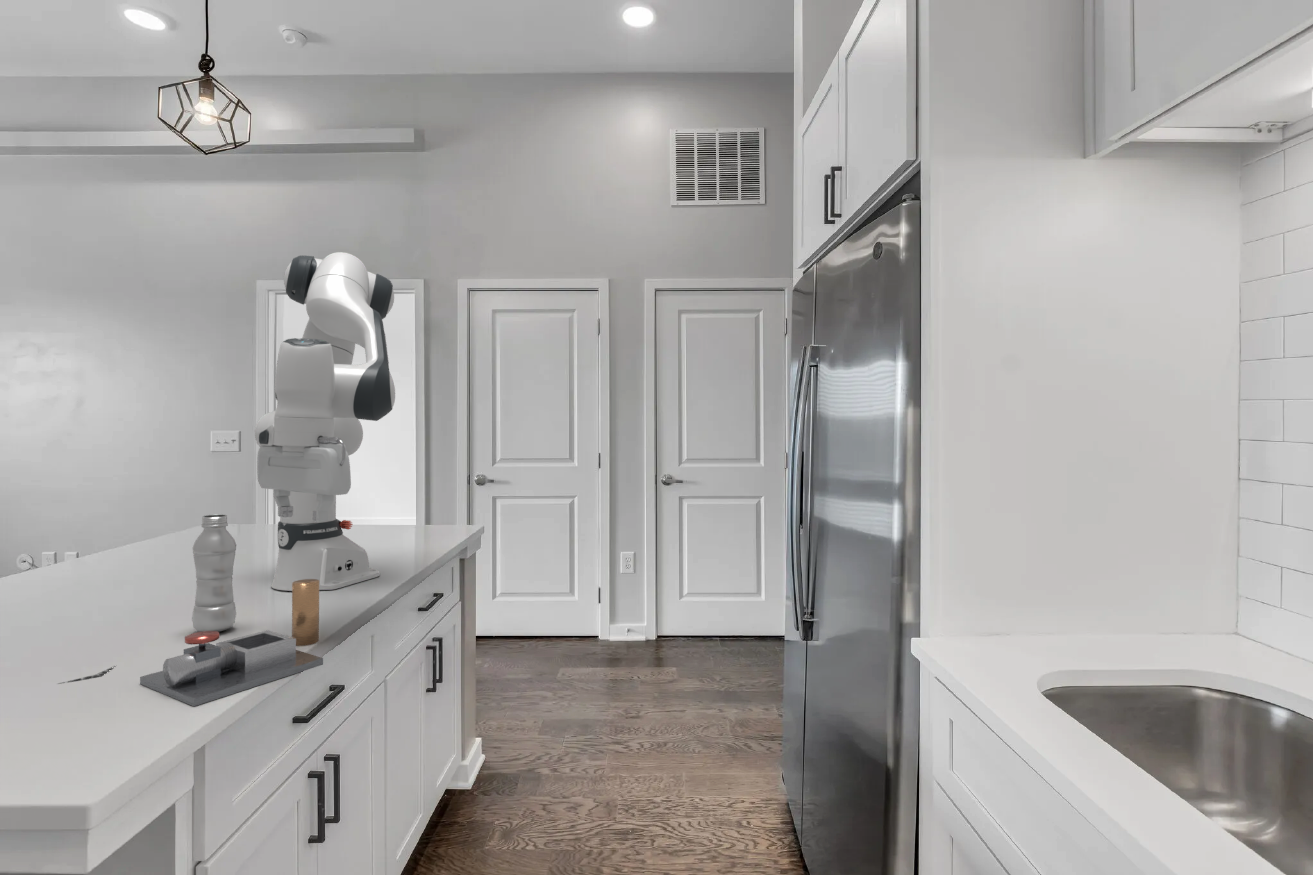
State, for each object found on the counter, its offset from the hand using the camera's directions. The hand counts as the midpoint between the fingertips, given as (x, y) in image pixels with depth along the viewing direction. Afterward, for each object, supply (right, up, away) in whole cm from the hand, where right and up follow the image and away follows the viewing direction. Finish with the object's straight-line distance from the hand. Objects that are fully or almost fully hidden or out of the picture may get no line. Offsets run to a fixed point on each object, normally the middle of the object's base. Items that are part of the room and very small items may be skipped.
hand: (302, 519), depth 113 cm
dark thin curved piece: (-22, -21, -15) cm, 34 cm away
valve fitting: (-2, -21, -14) cm, 25 cm away
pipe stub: (0, -20, 0) cm, 20 cm away
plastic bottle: (-18, -20, +5) cm, 27 cm away
